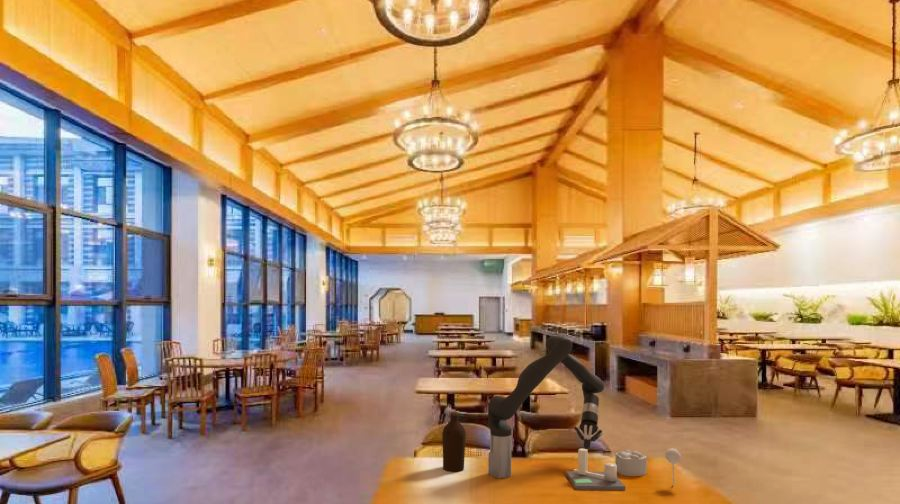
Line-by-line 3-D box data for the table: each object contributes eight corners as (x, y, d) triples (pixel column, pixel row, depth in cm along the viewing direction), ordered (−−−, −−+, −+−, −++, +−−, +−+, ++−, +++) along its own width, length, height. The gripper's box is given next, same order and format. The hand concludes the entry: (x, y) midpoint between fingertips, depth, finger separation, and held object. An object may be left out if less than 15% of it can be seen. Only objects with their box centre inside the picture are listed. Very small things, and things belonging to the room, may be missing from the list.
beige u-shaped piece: (618, 479, 223) (618, 454, 224) (614, 482, 219) (614, 457, 220) (576, 470, 234) (576, 446, 235) (571, 473, 230) (571, 449, 231)
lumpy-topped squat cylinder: (613, 468, 244) (613, 448, 245) (641, 468, 245) (640, 448, 246) (622, 476, 234) (622, 455, 234) (651, 475, 235) (651, 455, 235)
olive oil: (465, 473, 234) (466, 414, 236) (441, 472, 234) (442, 414, 236) (465, 465, 244) (466, 409, 246) (442, 464, 245) (443, 409, 247)
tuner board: (576, 489, 216) (576, 485, 216) (566, 474, 234) (566, 470, 234) (625, 490, 216) (625, 486, 216) (611, 475, 234) (611, 471, 234)
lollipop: (680, 484, 224) (680, 447, 226) (682, 488, 219) (681, 451, 220) (665, 482, 226) (664, 446, 228) (665, 486, 221) (665, 449, 222)
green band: (589, 479, 224) (589, 478, 224) (592, 482, 220) (592, 482, 220) (572, 479, 223) (572, 479, 223) (576, 483, 219) (576, 482, 219)
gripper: (574, 409, 253) (571, 441, 241) (603, 411, 249) (601, 445, 236) (576, 418, 258) (572, 450, 246) (604, 421, 253) (602, 454, 241)
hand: (586, 448), depth 241 cm, fingers closed
